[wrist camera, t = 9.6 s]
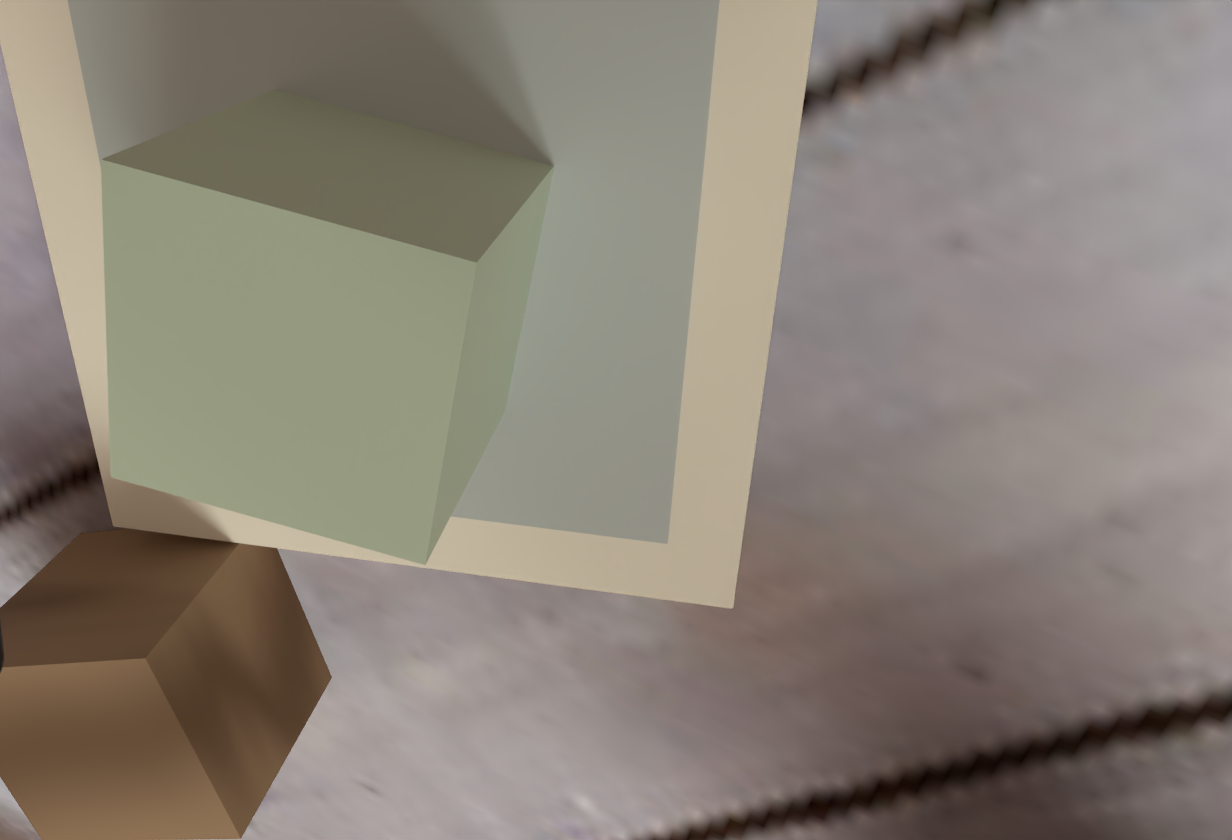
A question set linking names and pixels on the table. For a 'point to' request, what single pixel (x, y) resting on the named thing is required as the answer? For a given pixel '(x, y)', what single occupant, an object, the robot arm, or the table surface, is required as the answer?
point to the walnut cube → (153, 686)
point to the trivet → (566, 256)
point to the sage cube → (314, 315)
